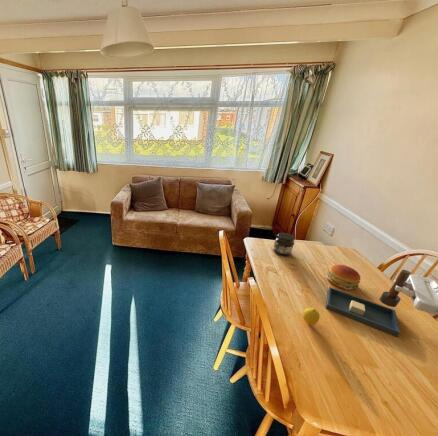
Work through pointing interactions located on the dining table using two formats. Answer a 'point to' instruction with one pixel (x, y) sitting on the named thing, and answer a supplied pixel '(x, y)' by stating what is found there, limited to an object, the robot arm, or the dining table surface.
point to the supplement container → (284, 244)
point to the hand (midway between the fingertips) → (394, 284)
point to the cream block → (357, 307)
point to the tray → (372, 316)
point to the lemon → (311, 316)
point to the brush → (392, 296)
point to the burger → (343, 277)
